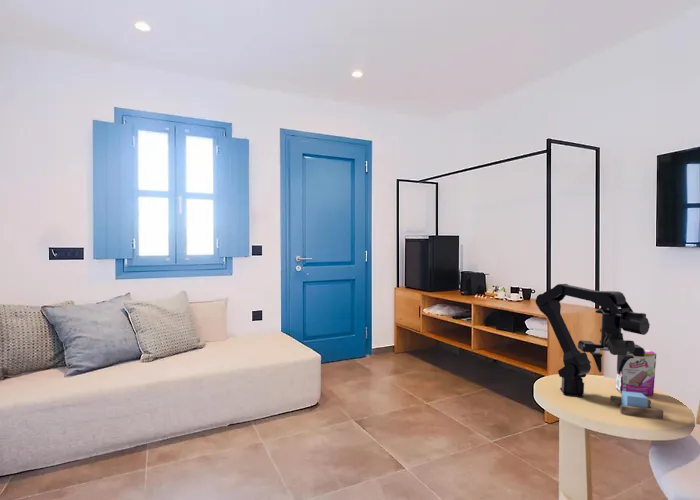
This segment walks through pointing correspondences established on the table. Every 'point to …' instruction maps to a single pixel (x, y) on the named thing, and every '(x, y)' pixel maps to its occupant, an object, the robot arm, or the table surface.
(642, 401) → the block
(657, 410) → the brown rails
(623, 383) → the candy bar box
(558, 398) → the table surface
